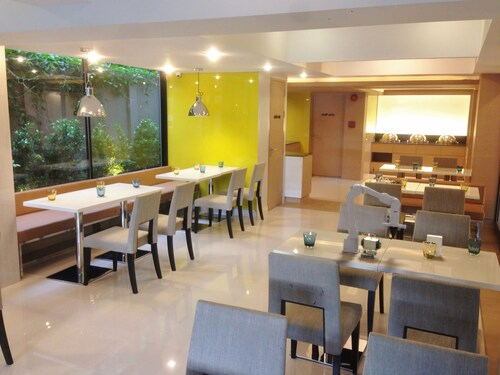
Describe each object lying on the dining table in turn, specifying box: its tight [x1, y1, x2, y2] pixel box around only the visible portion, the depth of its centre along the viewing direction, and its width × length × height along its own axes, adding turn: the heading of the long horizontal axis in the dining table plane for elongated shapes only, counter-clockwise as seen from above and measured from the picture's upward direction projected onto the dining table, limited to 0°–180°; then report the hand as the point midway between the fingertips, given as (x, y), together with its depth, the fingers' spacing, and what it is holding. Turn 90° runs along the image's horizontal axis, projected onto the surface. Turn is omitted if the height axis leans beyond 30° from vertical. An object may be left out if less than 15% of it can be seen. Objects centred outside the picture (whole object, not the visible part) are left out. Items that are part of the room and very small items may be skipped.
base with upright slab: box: [426, 234, 443, 257], centre depth 287 cm, size 9×9×12 cm
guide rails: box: [360, 249, 377, 259], centre depth 283 cm, size 8×11×2 cm
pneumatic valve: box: [360, 237, 382, 257], centre depth 282 cm, size 6×12×12 cm, turn 54°
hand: (393, 238), depth 286 cm, fingers closed
